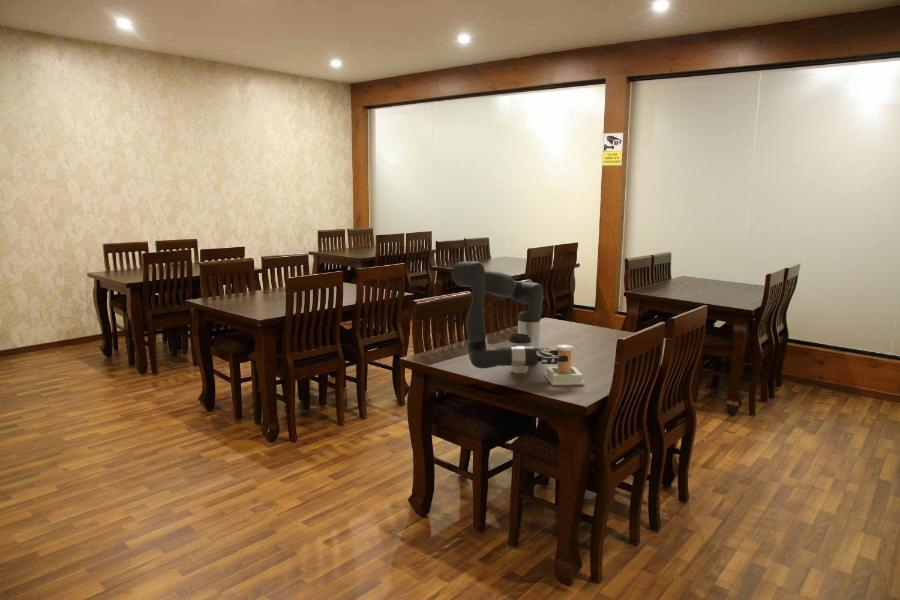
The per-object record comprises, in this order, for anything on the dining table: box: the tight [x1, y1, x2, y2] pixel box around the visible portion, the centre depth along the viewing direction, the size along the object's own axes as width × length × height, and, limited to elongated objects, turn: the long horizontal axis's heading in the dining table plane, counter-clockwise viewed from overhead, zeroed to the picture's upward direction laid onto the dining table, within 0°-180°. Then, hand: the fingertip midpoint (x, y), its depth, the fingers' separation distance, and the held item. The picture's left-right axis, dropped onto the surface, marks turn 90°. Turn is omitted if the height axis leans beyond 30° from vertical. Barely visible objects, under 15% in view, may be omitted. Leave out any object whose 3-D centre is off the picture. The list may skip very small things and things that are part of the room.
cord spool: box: [556, 344, 574, 374], centre depth 227 cm, size 6×6×12 cm
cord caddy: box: [544, 366, 585, 386], centre depth 227 cm, size 12×12×4 cm
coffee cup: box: [507, 333, 531, 374], centre depth 237 cm, size 9×9×15 cm
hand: (564, 355), depth 226 cm, fingers open, 8 cm apart
